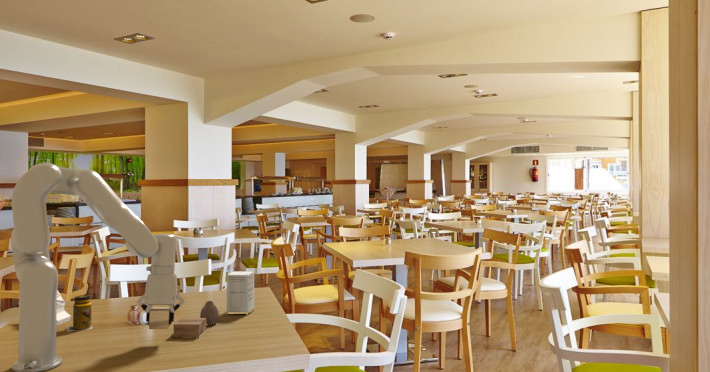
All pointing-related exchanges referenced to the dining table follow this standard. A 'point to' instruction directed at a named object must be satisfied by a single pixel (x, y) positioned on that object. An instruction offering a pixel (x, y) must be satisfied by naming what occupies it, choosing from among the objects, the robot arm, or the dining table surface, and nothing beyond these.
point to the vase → (209, 312)
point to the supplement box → (240, 291)
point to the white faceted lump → (61, 311)
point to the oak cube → (159, 318)
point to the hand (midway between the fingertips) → (159, 323)
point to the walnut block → (189, 327)
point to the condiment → (81, 314)
